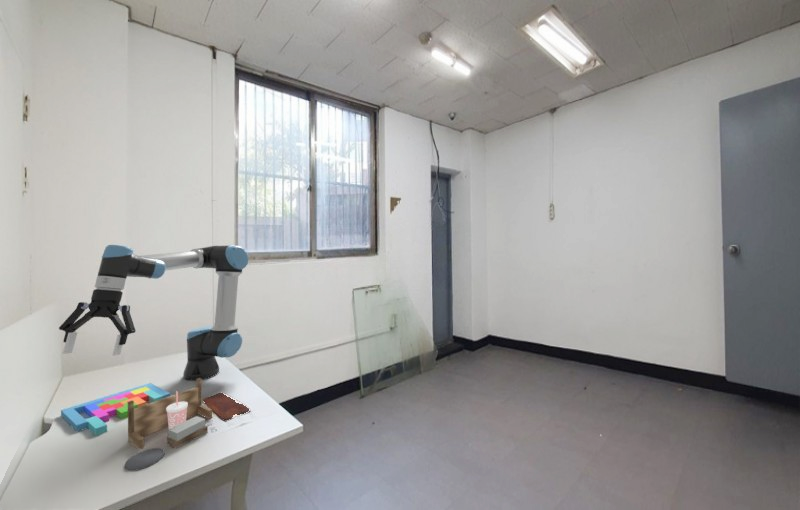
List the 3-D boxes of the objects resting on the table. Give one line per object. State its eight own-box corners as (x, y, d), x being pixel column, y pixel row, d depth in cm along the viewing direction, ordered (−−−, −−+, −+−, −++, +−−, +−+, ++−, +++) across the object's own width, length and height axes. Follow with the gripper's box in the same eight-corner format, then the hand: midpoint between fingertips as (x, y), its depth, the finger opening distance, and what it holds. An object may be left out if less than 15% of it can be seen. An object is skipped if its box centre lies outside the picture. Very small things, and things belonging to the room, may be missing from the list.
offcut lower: (199, 429, 110) (199, 422, 110) (207, 433, 107) (207, 426, 107) (166, 444, 101) (166, 437, 101) (174, 450, 99) (174, 442, 98)
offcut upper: (196, 423, 109) (196, 416, 109) (205, 426, 107) (205, 419, 107) (168, 437, 101) (168, 429, 101) (177, 441, 99) (177, 433, 99)
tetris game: (61, 417, 118) (84, 441, 103) (60, 410, 118) (84, 432, 103) (150, 389, 142) (180, 405, 127) (150, 382, 142) (180, 398, 127)
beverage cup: (161, 436, 105) (161, 394, 105) (177, 425, 111) (176, 386, 111) (178, 437, 104) (177, 395, 104) (192, 427, 110) (192, 387, 110)
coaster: (156, 446, 99) (156, 444, 99) (169, 456, 95) (169, 454, 95) (119, 463, 92) (119, 461, 92) (132, 474, 87) (132, 472, 87)
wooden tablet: (252, 412, 121) (252, 408, 121) (224, 423, 114) (224, 419, 114) (224, 392, 138) (224, 388, 138) (198, 400, 131) (198, 396, 131)
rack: (200, 411, 121) (199, 378, 121) (212, 417, 116) (211, 382, 116) (128, 441, 102) (127, 401, 102) (139, 450, 98) (138, 408, 97)
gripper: (56, 285, 101) (35, 353, 97) (144, 292, 107) (129, 356, 103) (73, 287, 109) (55, 351, 104) (155, 293, 114) (141, 354, 110)
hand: (92, 354), depth 103 cm, fingers open, 13 cm apart
